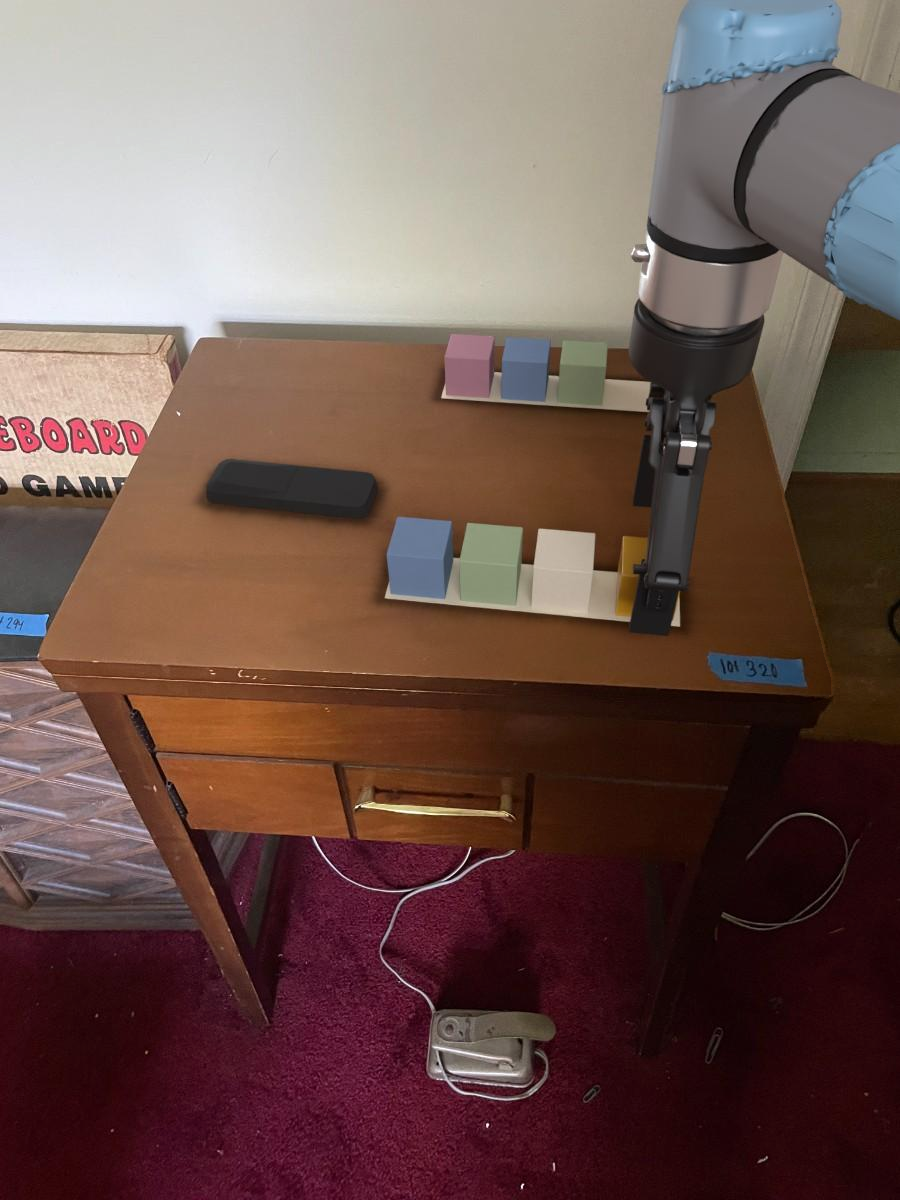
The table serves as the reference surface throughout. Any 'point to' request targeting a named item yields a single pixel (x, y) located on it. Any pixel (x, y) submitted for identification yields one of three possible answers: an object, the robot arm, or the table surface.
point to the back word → (537, 374)
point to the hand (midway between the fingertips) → (649, 563)
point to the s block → (629, 573)
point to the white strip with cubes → (500, 570)
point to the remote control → (292, 488)
